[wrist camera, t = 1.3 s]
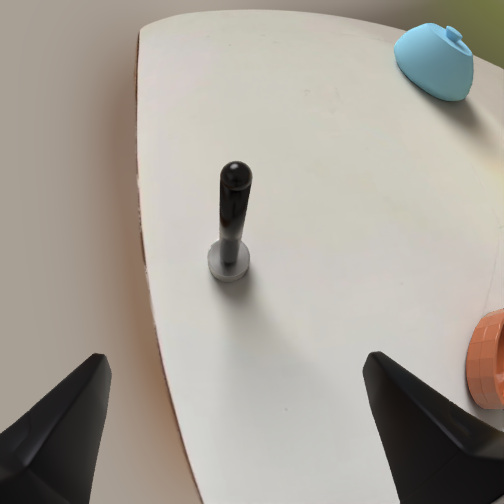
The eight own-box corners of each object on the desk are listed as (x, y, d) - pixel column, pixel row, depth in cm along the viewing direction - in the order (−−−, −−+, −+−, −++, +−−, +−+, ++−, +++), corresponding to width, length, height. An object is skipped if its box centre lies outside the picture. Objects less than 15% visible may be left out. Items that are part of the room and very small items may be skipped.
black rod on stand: (253, 276, 24) (286, 191, 12) (214, 286, 24) (208, 209, 12) (241, 240, 25) (261, 133, 13) (203, 250, 25) (191, 146, 12)
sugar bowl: (392, 79, 37) (422, 23, 26) (387, 41, 42) (408, -4, 31) (467, 120, 37) (503, 76, 26) (452, 75, 42) (477, 36, 31)
